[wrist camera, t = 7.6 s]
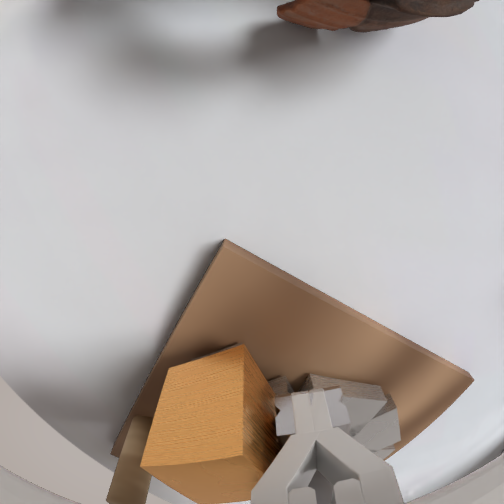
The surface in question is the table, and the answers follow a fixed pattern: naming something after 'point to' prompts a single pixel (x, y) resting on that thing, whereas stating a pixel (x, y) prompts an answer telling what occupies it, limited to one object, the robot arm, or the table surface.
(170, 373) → the flange
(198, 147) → the table surface
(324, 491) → the post base
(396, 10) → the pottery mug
